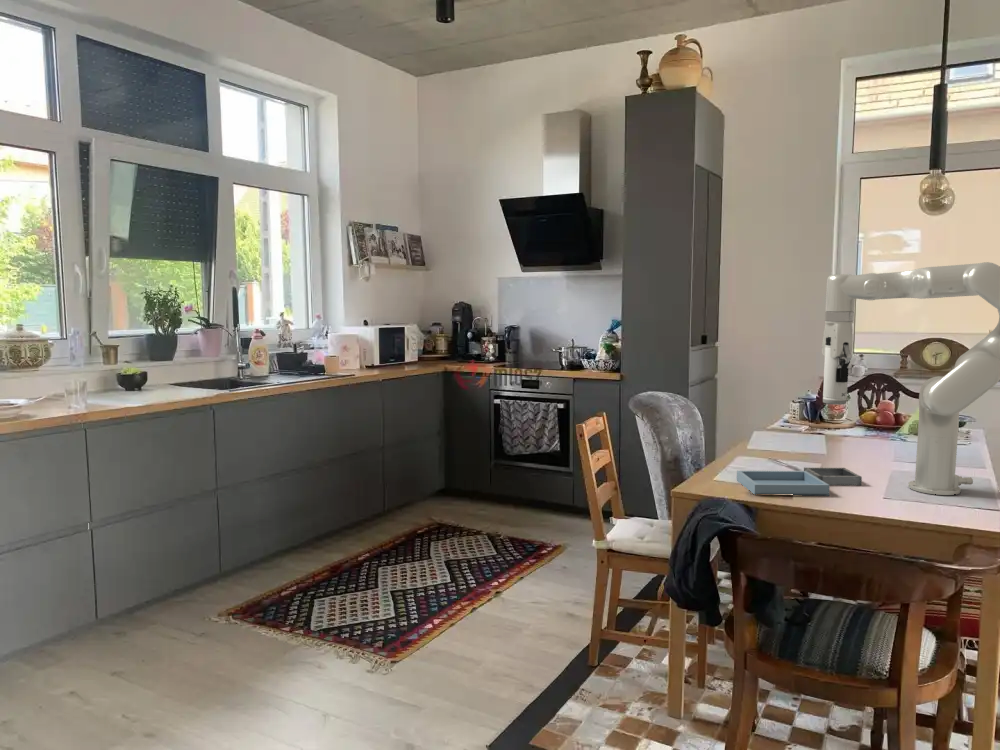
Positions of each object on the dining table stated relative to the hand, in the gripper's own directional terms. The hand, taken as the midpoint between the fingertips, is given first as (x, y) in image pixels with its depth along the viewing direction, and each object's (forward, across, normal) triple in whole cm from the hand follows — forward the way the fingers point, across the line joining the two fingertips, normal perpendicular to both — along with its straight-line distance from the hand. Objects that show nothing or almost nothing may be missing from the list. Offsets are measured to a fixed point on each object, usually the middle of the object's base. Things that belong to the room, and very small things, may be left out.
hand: (836, 380), depth 214 cm
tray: (+29, +9, -18) cm, 35 cm away
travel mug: (+7, 0, 0) cm, 7 cm away
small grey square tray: (+30, 0, 0) cm, 30 cm away
